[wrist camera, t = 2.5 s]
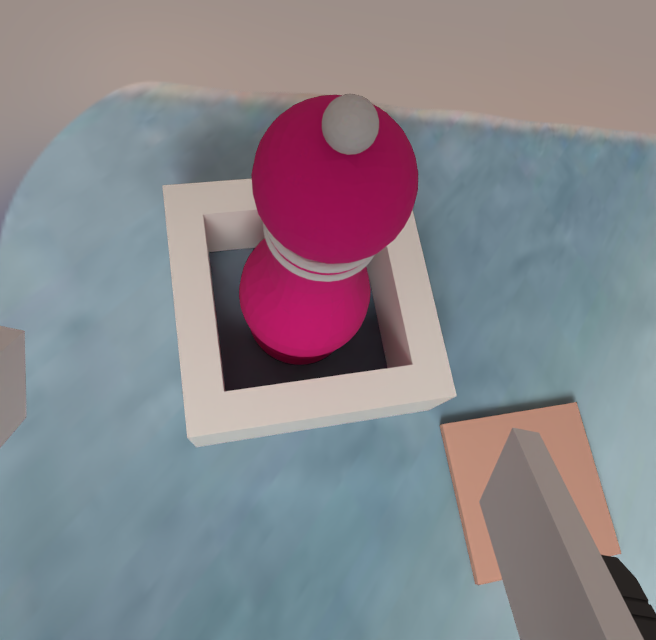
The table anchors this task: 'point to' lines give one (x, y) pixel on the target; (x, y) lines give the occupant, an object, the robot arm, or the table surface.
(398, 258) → the holder collar
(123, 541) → the table surface
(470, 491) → the rubber mat
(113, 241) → the table surface
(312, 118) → the pepper mill
